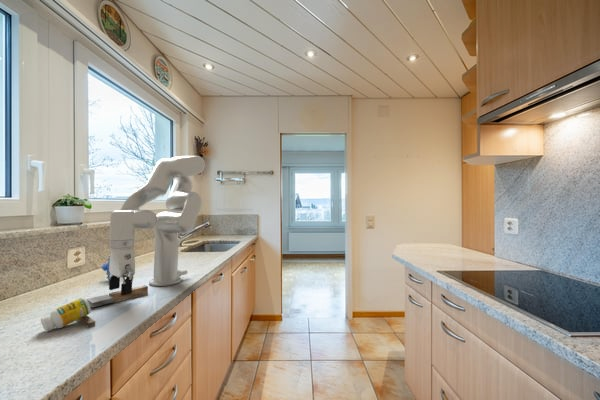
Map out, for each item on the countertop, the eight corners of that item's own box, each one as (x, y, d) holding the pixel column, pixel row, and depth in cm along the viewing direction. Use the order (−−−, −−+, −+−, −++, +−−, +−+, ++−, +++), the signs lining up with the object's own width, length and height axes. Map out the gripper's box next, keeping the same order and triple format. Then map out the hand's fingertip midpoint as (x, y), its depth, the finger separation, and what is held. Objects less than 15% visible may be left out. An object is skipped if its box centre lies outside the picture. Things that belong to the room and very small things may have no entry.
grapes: (103, 277, 120) (104, 251, 121) (120, 276, 123) (121, 251, 124) (97, 284, 110) (98, 256, 110) (116, 282, 113) (117, 255, 113)
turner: (142, 292, 102) (142, 284, 102) (149, 295, 99) (149, 287, 99) (85, 305, 87) (86, 296, 87) (92, 309, 84) (92, 300, 84)
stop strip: (82, 316, 78) (82, 312, 78) (95, 325, 73) (95, 321, 73) (75, 318, 77) (75, 314, 77) (88, 327, 71) (88, 323, 71)
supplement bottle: (84, 309, 78) (42, 329, 70) (81, 294, 77) (37, 312, 69) (92, 316, 76) (49, 337, 68) (89, 300, 74) (44, 320, 66)
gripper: (144, 245, 92) (143, 293, 91) (122, 241, 101) (121, 284, 101) (121, 248, 85) (119, 299, 85) (100, 243, 95) (98, 289, 95)
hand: (120, 291), depth 93 cm, fingers open, 9 cm apart
